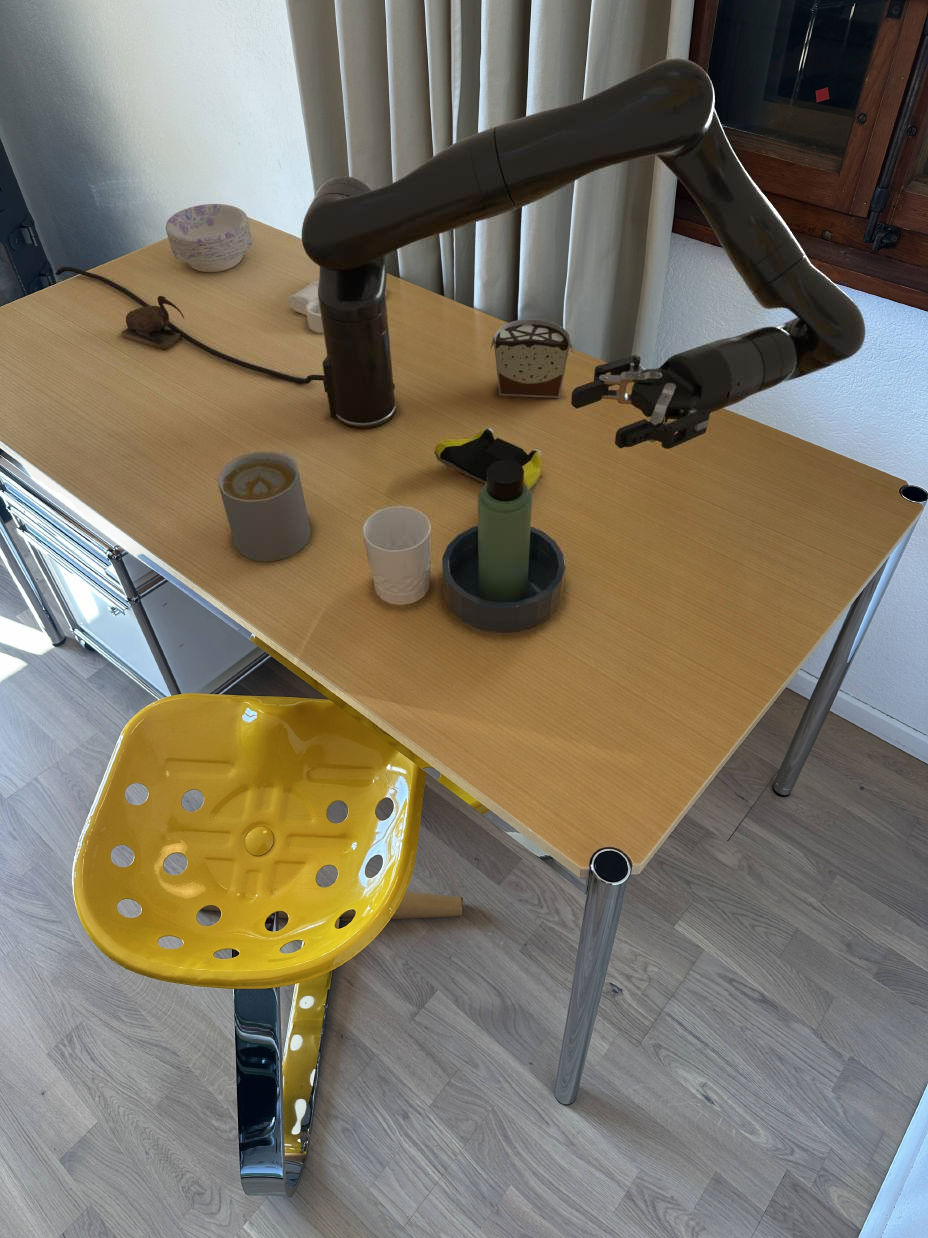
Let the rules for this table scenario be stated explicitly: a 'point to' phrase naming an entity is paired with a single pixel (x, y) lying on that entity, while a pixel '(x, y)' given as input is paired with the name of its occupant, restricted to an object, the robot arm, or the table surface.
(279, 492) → the coffee mug
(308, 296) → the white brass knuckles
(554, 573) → the dark blue bowl
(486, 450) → the black and yellow shoe
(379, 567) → the white cup
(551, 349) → the food container
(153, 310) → the figurine
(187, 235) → the paper bowls
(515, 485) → the bottle
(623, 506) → the table surface
